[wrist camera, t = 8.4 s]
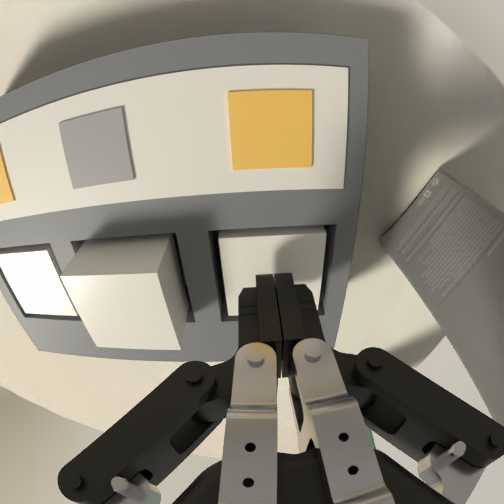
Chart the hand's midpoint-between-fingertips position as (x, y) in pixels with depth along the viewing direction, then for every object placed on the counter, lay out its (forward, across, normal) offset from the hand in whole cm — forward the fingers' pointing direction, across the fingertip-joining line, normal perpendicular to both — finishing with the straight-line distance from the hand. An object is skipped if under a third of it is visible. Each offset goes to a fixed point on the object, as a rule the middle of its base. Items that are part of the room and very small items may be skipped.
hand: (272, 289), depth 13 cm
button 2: (+4, +13, 0) cm, 13 cm away
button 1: (+4, 0, 0) cm, 4 cm away
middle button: (+2, +6, 0) cm, 7 cm away
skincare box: (+6, -13, +1) cm, 14 cm away
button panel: (+6, +6, -2) cm, 9 cm away
